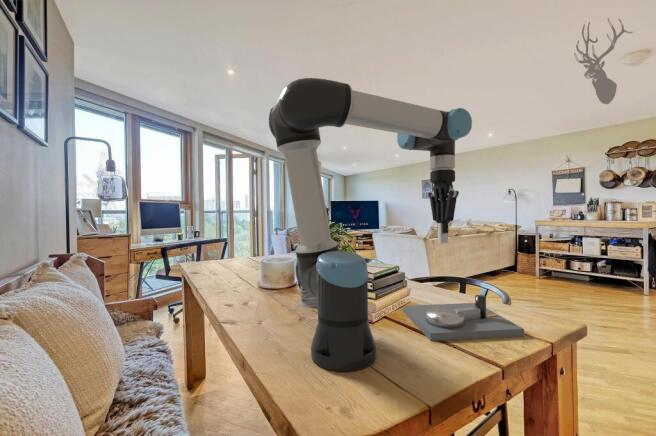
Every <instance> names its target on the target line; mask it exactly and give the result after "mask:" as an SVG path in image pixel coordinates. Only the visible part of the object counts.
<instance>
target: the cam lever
mask: <svg viewBox="0 0 656 436" xmlns="http://www.w3.org/2000/svg"><path fill="white" fill-rule="evenodd" d="M474 299H475V301H474V303H475V307H467V308H459V309H452V308H445V307H434V308H429V309H427V310H426V321H427V322H428V323H429V324H431V325H433V326H436V327H441V328H449V329H454V328H460V327H463V326H464V320H472V319H479V318H482V319H484V318H486V308H487V296H485V295H483V294H476V295H474Z"/></svg>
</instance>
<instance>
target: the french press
mask: <svg viewBox="0 0 656 436" xmlns="http://www.w3.org/2000/svg"><path fill="white" fill-rule="evenodd" d="M297 304H298V306H300V307H303V308H318V298H316V297H315V296H314V295H312V294H311V293H310V292H308V291H306V290H305V289H304V288H303V287H302V286H301V285H300V300H299V302H298V303H297Z"/></svg>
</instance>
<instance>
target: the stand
mask: <svg viewBox="0 0 656 436" xmlns="http://www.w3.org/2000/svg"><path fill="white" fill-rule="evenodd" d="M402 306H403V307H402V308H403V309H402V310H403V314H404V315H406V316H407V317H408V318H409V319H410V320H411V321H412V323H413V324H414V325H415V326H416V327H417V329H419V330H420V332H422V333H423V335H425V336H426V338H427V339H428V340H429V341H430V342H435V341H436V342H437V341H456V340H457V341H458V340H459V341H460V340H477V339H496V338H497V339H500V338H518V337H519V338H521V337H525V329H524V328H523V327H522V326H520V325H518V324H516V323H514V322H512V321H510V320H509V319H507V318H505V317H503V316H502V315H499V314H498V313H497V312H494V311H492V310H491V309H489V308H488V307H486V318H484V319H482V318H479V319H472V320H464V326H463V327H460V328H454V329H449V328H441V327H436V326H433V325H431V324H429V323H428V322H427V321H426V310H427V309H429V308H434V307H445V308H452V309H459V308H467V307H475V302H468V303H467V302H464V303H463V302H462V303H437V304H436V303H435V304H417V305H416V304H413V305H411V304H409V305H402Z"/></svg>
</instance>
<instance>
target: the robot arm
mask: <svg viewBox="0 0 656 436" xmlns="http://www.w3.org/2000/svg"><path fill="white" fill-rule="evenodd" d="M345 125H350V126H357V127H361V128H366V129H372V130H373V129H374V130H378V131H379V130H380V131H384V132H389V133H395V134H397V135H396V139H397V140H396V142H397V145H398V147H399V148H401V149H402V150H409V151H425V152H429V170H431V171H430V175H429V176H430V177H429V178H430V179H429V180H430V183H431V184H433V186H432V192H428V198H429V200H430V201H429V202H430V208H431V216H432V221H434V222H436V224H437V225H436V226H437V231H436V232H437V243H438V244H448V243H449V223H451V222H453V221H454V218H455V217H454V216H455V211H456V203H457V198H458V197H459V194H460V192H459V190H455V189H454V185H453V183H455V182H456V171H455V170H454V169H455V168H456V151H455V150H456V141H458V140H459V139H462V138H464V137H466V136H468V135H469V134H470V132H471V130H472V126H473V120H472V116H471V114H470V112H469V111H468V110H467V109H465V108H462V107H458V108H452V109H451V110H449V111H445V110H440V109H436V108H431V107H427V106H423V105H419V104H414V103H409V102H405V101H401V100H397V99H392V98H388V97H384V96H380V95H375V94H371V93H366V92H362V91H359V90H354V89H352V86H351V84H348V83H345V82H339V81H337V80H333V79H331V80H330V79H327V78H326V79H325V78H317V77H304V78H303V77H302V78H298V79H296V80H292V81H291V82H290V83H288V84H287V85H286V86H285V87H284V88H283V90H282V92H281V94H280V95H279V97H278V98H277V99H276V101H275V102H274V103H273V105H272V106H271V108H270V111H269V114H268V128H269V130H270V132H271V134H272V136H273V137H274V138H275V142H276V148H277V151H279V152H280V153H281V154H283V155H284V162H285V165H286V171H287V178H288V183H289V190H290V193H291V194H290V195H291V200H292V207H293V211H294V219H295V223H296V228H297V234H298V241H299V244H298V246H297V247H296V248H295V256H296V262H295V266H294V269H295V270H294V272H295V277H296V279H297V281H298V283H299V284H300V287H301V286H302V287H303V288H304V289H303V290H306V291H308V292H310V293H311V294H312V295H314V296H315V297H316V298H318V307H317V324H316V328H315V331H314V335H313V338H312V341H311V345H310V356H311V360H312V361H313V362H314V363H315V364H316V365H317V366H319V367H320V368H323V369H327V370H329V371H336V372H353V371H358V370H363V369H366V368H367V367H369V366H371V365H372V364H373V363H375V361H376V358H377V345H376V342H375V338H374V336H373V334H372V330H371V327H370V324H369V292H368V291H369V286H368V285H369V281H368V279H369V271H368V262H367V260H366V259H365V258H364V257H363V256H361V255H360V254H357V253H356V252H355V253H354V252H349V251H340V249H339V243H338V242H337V241H336V240H334V239H333V237H331V230H330V225H329V224H330V223H329V217H328V212H327V211H328V210H327V207H326V200H325V194H324V189H323V188H324V187H323V180H322V177H321V176H322V175H321V170H320V164H319V163H320V162H319V158H318V152H317V150H318V148H319V147H320V145H321V143H322V141H321V140H322V139H321V133H320V129H319V128H323V127H335V128H342V127H344V126H345Z"/></svg>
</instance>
